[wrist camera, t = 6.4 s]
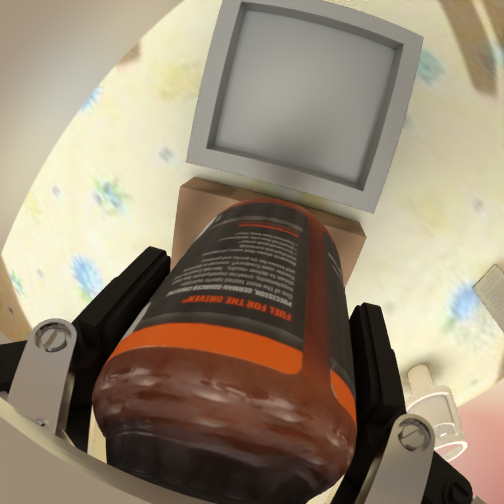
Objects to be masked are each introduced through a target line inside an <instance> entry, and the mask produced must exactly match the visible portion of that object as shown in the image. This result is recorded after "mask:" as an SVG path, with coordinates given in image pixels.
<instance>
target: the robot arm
mask: <svg viewBox="0 0 504 504" xmlns="http://www.w3.org/2000/svg"><path fill="white" fill-rule="evenodd" d="M170 266H171V258H170V256H167V253H166V251H165V250H162V249H158V248H155V247H151V246H149V247H148V248H147V249H146V250H145V251H143V252H142V253H141V254H140V255H139V256H138V257H137V258H136V259H135V260H134V261H133V262H132V263H131V264H130V265H129V266H128V267H127V268H126V269H125V270H124V271H123V272H122V273H121V274H120V275H119V276H118V277H116V278H114V279H113V280H112V281H111V282H110V283H109V284H108V285H107V286H106V287H105V288H104V289H103V290H102V291H101V292H100V293H99V294H98V295H97V296H96V297H95V298H94V299H93V300H92V302H91V303H90V304H89V305H88V306H87V307H86V308H85V309H84V310H83V311H82V312H81V313H80V314H79V315H78V316H77V318H76V319H75V320H74V321H73V322H72V323H69V322H68V321H66V320H63V319H48V320H45V321H43V322H41V323H39V324H38V325H37V326H36V327H34V329H33V330H32V332H31V334H30V336H29V339H28V340H25V341H20V342H14V343H8V344H1V345H0V504H215V503H211V502H208V501H204V500H200V499H197V498H193V497H190V496H187V495H184V494H180V493H177V492H174V491H171V490H169V489H166V488H163V487H160V486H157V485H155V484H152V483H150V482H147V481H144V480H142V479H140V478H137V477H135V476H132V475H130V474H128V473H125V472H123V471H121V470H119V469H117V468H114V467H112V466H110V465H108V464H106V463H104V462H102V461H100V460H98V459H96V458H94V457H93V456H92V455H93V443H94V431H95V421H96V419H95V417H94V412H93V404H92V393H93V389H94V385H95V383H96V380H97V378H98V376H99V374H100V372H101V370H102V368H103V366H104V365H105V363H106V362H107V360H108V359H109V357H110V356H111V354H112V353H113V351H114V350H115V348H116V347H117V345H118V344H119V342H120V341H121V339H122V338H123V336H124V335H125V333H126V332H127V331H128V329H129V328H130V326H131V325H132V324H133V322H134V321H135V319H136V318H137V317H138V315H139V314H140V312H141V311H142V310H143V309H144V307H145V306H146V304H147V303H148V301H149V300H150V299H151V297H152V296H153V295H154V293H155V292H156V291H157V289H158V288H159V287H160V285H161V284H162V282H163V281H164V280H165V279H166V277H167V276H168V275H169V273H170ZM349 325H350V336H351V347H352V353H353V366H354V379H355V390H356V406H355V407H356V424H357V436H356V447H355V452H354V457H353V459H352V462H351V464H350V466H349V468H348V470H347V471H346V473H345V474H344V475H343V476H342V477H341V479H340V480H339V481H338V482H337V483H336V484H335V485H334V487H333V489H332V491H331V493H330V495H329V496H328V498H327V500H326V502H325V503H324V504H486V503H485V502H484V501H483V500H481V499H480V498H479V497H478V496H474V497H473V492H472V487H471V485H470V483H469V482H468V480H467V479H466V478H465V477H464V476H463V475H461V474H460V473H459V472H458V471H457V470H456V469H454V468H453V467H452V466H451V465H450V464H449V463H448V462H447V461H446V460H444V459H443V458H442V457H441V456H440V455H439V454H437V453H436V452H435V451H434V447H435V433H434V430H433V428H432V426H431V425H430V423H429V422H428V421H427V420H426V419H424V418H423V417H421V416H419V415H416V414H407V411H406V405H405V400H404V395H403V390H402V384H401V380H400V375H399V370H398V366H397V361H396V357H395V353H394V351H393V349H391V346H390V341H389V337H388V333H387V329H386V325H385V321H384V318H383V314H382V310H381V307H380V306H378V305H373V304H369V303H365V302H364V303H363V304H362V305H361V306H358V305H357V306H356V307H355V309H354V311H353V313H352V315H351V317H350V319H349Z"/></svg>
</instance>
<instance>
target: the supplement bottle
mask: <svg viewBox="0 0 504 504" xmlns="http://www.w3.org/2000/svg"><path fill="white" fill-rule="evenodd" d="M92 404H93V412H94V417H95V419H96V421H97V423H98V426H99V428H100V430H101V432H102V434H103V436H104V437H105V438H106V456H107V464H108V465H110V466H112V467H114V468H117V469H119V470H121V471H123V472H125V473H128V474H130V475H132V476H135V477H137V478H140V479H142V480H144V481H147V482H150V483H152V484H155V485H157V486H160V487H163V488H166V489H169V490H171V491H174V492H177V493H180V494H184V495H187V496H190V497H193V498H197V499H200V500H204V501H208V502H211V503H215V504H306V503H307V502H308V501H309V500H310V499H312V498H313V497H315V496H317V495H319V494H321V493H322V492H325V491H326V490H327V489H329V488H331V487H332V486H334V485H335V484H336V483H337V482H338V481H339V480H340V479H341V477H342V476H343V475H344V474H345V473H346V471H347V470H348V468H349V466H350V464H351V462H352V459H353V457H354V452H355V447H356V436H357V424H356V407H355V406H356V390H355V379H354V366H353V353H352V347H351V336H350V325H349V316H348V310H347V302H346V295H345V288H344V281H343V273H342V268H341V262H340V258H339V254H338V251H337V248H336V244H335V242H334V240H333V238H332V236H331V235H330V233H329V232H328V230H327V229H326V227H325V226H324V225H323V224H322V223H321V222H320V221H319V220H318V219H317V218H316V217H315V216H314V215H312V214H311V213H310V212H308V211H307V210H305V209H304V208H302V207H300V206H299V205H296V204H293V203H291V202H287V201H283V200H279V199H272V198H256V199H249V200H245V201H242V202H239V203H236V204H234V205H232V206H230V207H228V208H226V209H225V210H224V211H222V212H221V213H219V214H218V215H217V216H216V217H215V218H214V219H213V220H212V221H211V222H210V223H209V224H208V225H207V226H206V227H205V228H204V230H203V231H202V232H201V233H200V235H199V236H198V237H197V238H196V240H195V241H194V242H193V243H192V245H191V246H190V247H189V249H188V250H187V251H186V252H185V254H184V255H183V256H182V258H181V259H180V260H179V261H178V263H177V264H176V265H175V267H174V268H173V269H172V271H171V272H170V273H169V275H168V276H167V277H166V279H165V280H164V281H163V282H162V284H161V285H160V287H159V288H158V289H157V291H156V292H155V293H154V295H153V296H152V297H151V299H150V300H149V301H148V303H147V304H146V306H145V307H144V309H143V310H142V311H141V312H140V314H139V315H138V317H137V318H136V319H135V321H134V322H133V324H132V325H131V326H130V328H129V329H128V331H127V332H126V333H125V335H124V336H123V338H122V339H121V341H120V342H119V344H118V345H117V347H116V348H115V350H114V351H113V353H112V354H111V356H110V357H109V359H108V360H107V362H106V363H105V365H104V366H103V368H102V370H101V372H100V374H99V376H98V378H97V380H96V383H95V385H94V389H93V393H92Z"/></svg>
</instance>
